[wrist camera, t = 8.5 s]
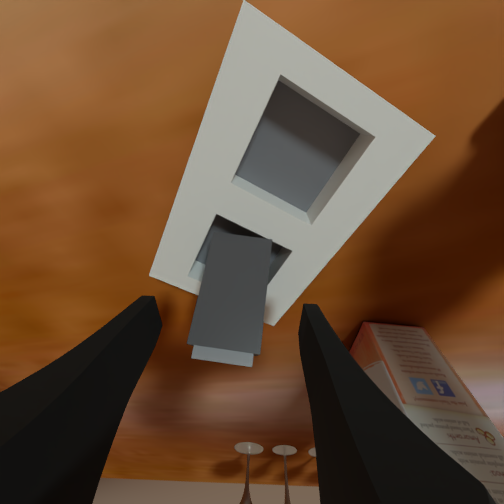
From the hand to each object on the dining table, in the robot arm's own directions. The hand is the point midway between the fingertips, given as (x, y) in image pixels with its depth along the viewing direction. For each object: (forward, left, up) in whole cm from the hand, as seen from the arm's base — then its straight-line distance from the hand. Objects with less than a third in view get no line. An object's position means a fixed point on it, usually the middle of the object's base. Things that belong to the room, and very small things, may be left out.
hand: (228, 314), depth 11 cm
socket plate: (0, -4, -7) cm, 8 cm away
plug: (0, -1, -5) cm, 5 cm away
